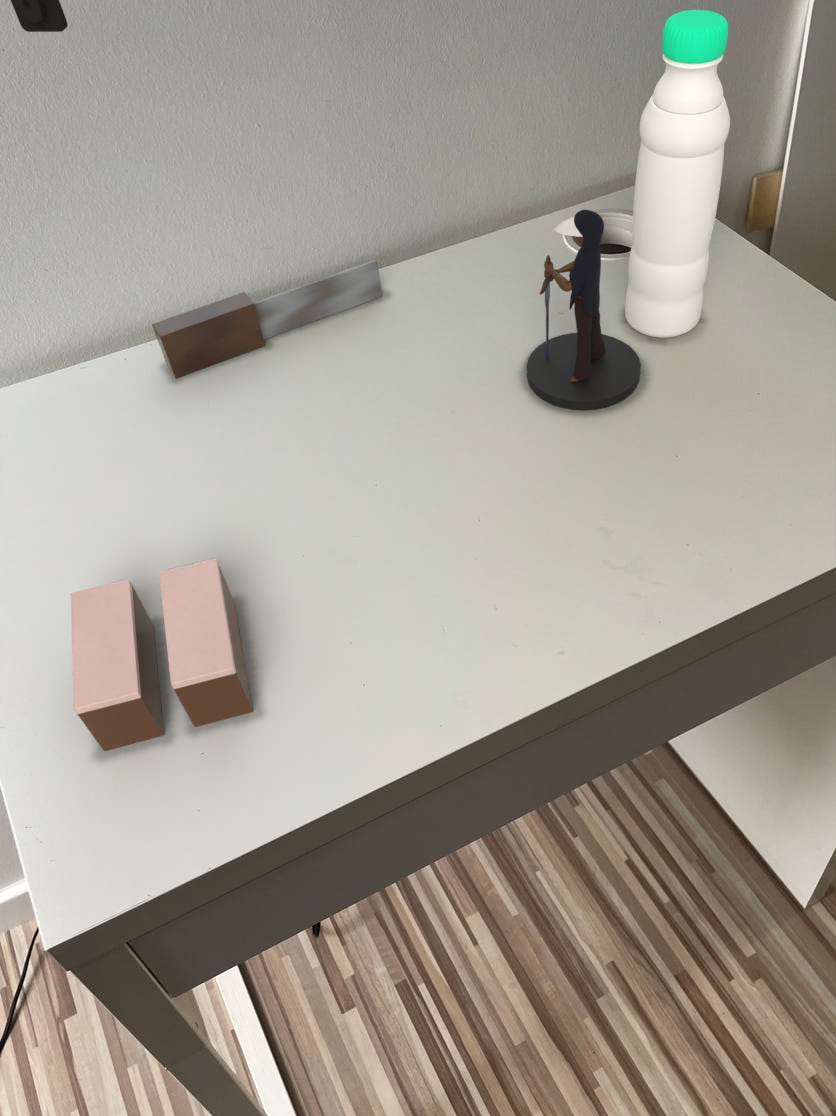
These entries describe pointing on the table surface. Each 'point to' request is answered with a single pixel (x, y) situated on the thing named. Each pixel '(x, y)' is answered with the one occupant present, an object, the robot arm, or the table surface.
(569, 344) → the figurine
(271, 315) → the knife
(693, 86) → the water bottle
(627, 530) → the table surface
